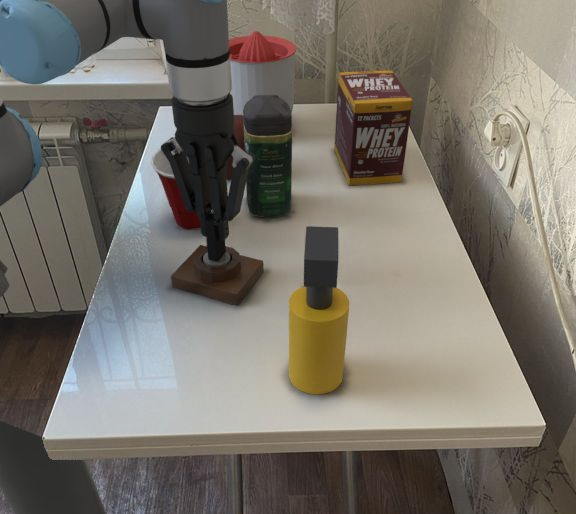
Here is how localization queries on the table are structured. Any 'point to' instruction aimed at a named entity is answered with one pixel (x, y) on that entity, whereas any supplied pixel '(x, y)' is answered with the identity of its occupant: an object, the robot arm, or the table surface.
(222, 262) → the button
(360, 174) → the supplement box
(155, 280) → the table surface
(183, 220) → the plastic cup
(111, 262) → the table surface
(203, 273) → the button box
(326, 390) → the spray bottle
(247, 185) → the coffee jar
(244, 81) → the citrus juicer
